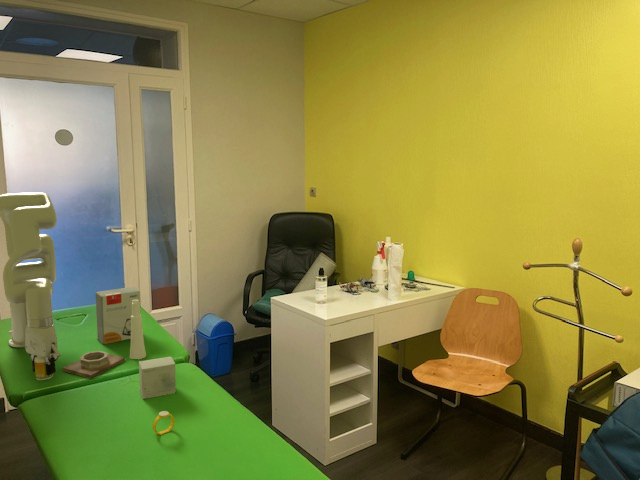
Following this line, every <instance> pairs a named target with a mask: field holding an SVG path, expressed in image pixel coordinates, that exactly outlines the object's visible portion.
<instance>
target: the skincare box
mask: <svg viewBox="0 0 640 480" xmlns="http://www.w3.org/2000/svg"><path fill="white" fill-rule="evenodd" d="M138 373H139V374H138V376H139V393H140V396H141V398H142V400H145V399H150V398H151V399H152V398H157V397H162V395H163V396H167V394H168V395H172V393H173V394H176V393H175V392H176V389H177V387H176V386H177V384H176V362H175V361H174V359H173V357H172V356H167V357H159V358H153V359H147V360H139V361H138Z"/></svg>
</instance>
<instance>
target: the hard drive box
mask: <svg viewBox="0 0 640 480" xmlns="http://www.w3.org/2000/svg"><path fill="white" fill-rule="evenodd" d="M135 299H137V300H139V303H140V304H141V291H140V290H139V289H138V288H136V287H135V286H128V287H122V288H115V289H107V290H100V291H95V308H96V309H95V310H96V312H95V313H96V332H97V340H98V341H99V342H100V343H101V344H102V345H106V344H107V345H108V344H113V343H116V342H121V341H126V340H131V315H132V303H133V302H132V300H135ZM141 311H142V310H141V309H140V315H141V314H142V313H141ZM141 316H142V315H141Z"/></svg>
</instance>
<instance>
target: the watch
mask: <svg viewBox="0 0 640 480" xmlns="http://www.w3.org/2000/svg"><path fill="white" fill-rule="evenodd" d="M157 414H158V415H157V416H156V417H155V418H154V421H153V423H152V429H153V432H154V433H155V434H157V435H158V436H161V435H165V434H167V433H170V432H171V431H172V430H173V428H174V427H175V422H176V421H175V417H174V416H173V415H172V414H171V413H170V412H169V411H167V410H162V411H160V412H158V413H157ZM168 417H170V419H171V421H170V424H169V426H168V427H167V428H166V429H163V430H161V431H157V424H158V422H159V421H160V419H166V418H168Z"/></svg>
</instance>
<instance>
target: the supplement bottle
mask: <svg viewBox="0 0 640 480" xmlns="http://www.w3.org/2000/svg"><path fill="white" fill-rule="evenodd" d="M49 359H51V356H49ZM34 362H35V372H34V374H35V379H36V380H37V381H46V380H50V379H52V378H53V377H54V374H55V373H53V374H51V375H49V376H48V375H46V364H47V362H46V359H45V357H40V356H36V357H35V359H34Z"/></svg>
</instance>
